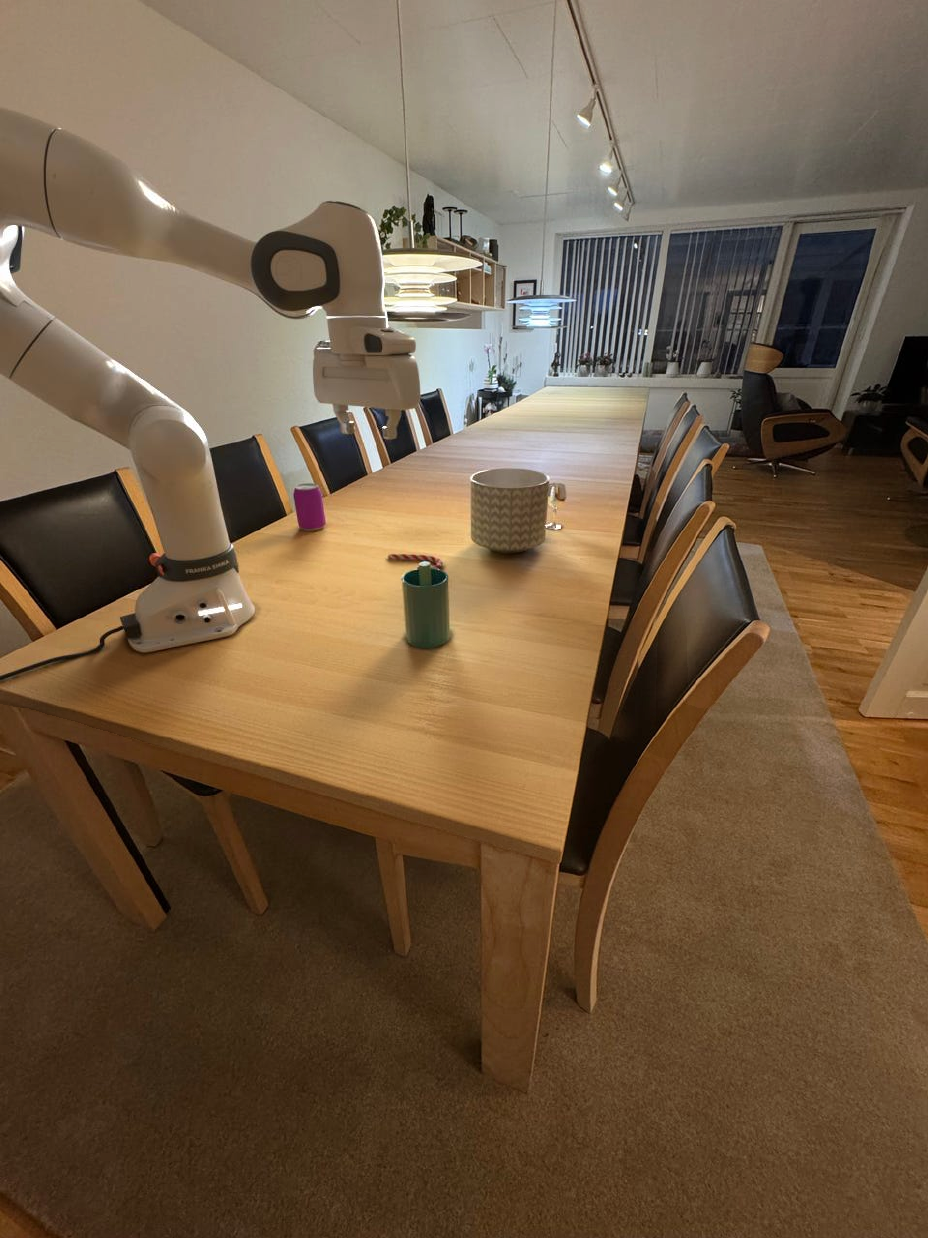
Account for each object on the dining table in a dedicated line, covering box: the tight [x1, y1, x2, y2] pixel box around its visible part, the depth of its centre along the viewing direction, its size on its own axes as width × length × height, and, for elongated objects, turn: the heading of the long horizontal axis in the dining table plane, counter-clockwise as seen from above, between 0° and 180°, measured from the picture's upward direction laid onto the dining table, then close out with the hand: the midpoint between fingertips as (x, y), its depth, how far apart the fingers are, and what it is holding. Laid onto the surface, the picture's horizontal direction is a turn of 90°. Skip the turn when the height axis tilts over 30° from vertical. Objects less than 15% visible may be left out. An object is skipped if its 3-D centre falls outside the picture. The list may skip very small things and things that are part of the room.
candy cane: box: [387, 553, 444, 570], centre depth 124 cm, size 8×1×15 cm
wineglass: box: [546, 482, 567, 531], centre depth 144 cm, size 6×6×12 cm
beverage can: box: [292, 482, 327, 532], centre depth 146 cm, size 8×8×12 cm
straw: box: [418, 561, 432, 586], centre depth 91 cm, size 2×2×14 cm
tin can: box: [401, 568, 451, 649], centre depth 92 cm, size 8×8×12 cm
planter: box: [470, 467, 550, 555], centre depth 129 cm, size 19×19×18 cm
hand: (368, 435), depth 84 cm, fingers open, 8 cm apart
